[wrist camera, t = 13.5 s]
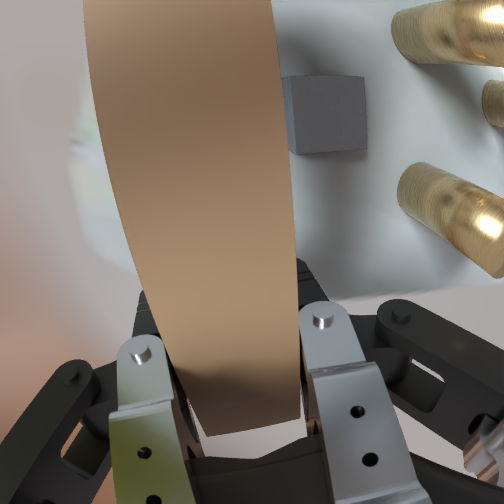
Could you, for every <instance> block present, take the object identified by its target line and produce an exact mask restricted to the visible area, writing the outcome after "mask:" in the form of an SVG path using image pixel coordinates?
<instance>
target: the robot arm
mask: <svg viewBox="0 0 504 504" xmlns="http://www.w3.org/2000/svg"><path fill="white" fill-rule="evenodd" d="M296 266H297V286H298V311H299V343H300V389H301V395H302V402H303V408H304V415H305V421H306V429H307V437H305V438H301V439H298V440H296V441H294V442H292V443H291V444H288V445H286V446H284V447H282V448H280V449H278V450H276V451H274V452H271V453H269V454H267V455H265V456H263V457H260V458H257V459H240V458H223V457H211V456H208V457H206V456H205V454H204V451H203V449H202V446H201V442H200V439H199V435H198V432H197V428H196V425H195V421H194V418H193V414H192V410H191V406H190V403H189V400H188V398H187V396H186V394H185V391H184V389H183V387H182V385H181V383H180V380H179V378H178V376H177V374H176V371H175V369H174V367H173V365H172V362H171V360H170V358H169V355H168V353H167V350H166V348H165V346H164V343H163V341H162V338H161V336H160V333H159V331H158V328H157V326H156V323H155V320H154V318H153V315H152V313H151V310H150V307H149V304H148V302H147V299H146V296H145V293H144V291H142V292H141V293H140V297H139V305H138V307H137V313H136V317H135V323H134V328H133V334H132V338H131V339H129V340H128V341H126V342H125V343H124V344H123V345H122V346H121V347H120V349H119V351H118V353H117V360H116V361H114V362H112V363H110V364H107V365H104V366H102V367H99V368H96V369H94V370H93V369H92V367H91V365H90V364H89V363H88V362H87V361H84V360H71V361H68V362H66V363H64V364H63V365H61V366H60V367H59V368H58V369H57V370H56V371H55V372H54V374H53V375H52V376H51V377H50V379H49V380H48V381H47V382H46V384H45V385H44V386H43V387H42V389H41V390H40V391H39V393H38V394H37V395H36V396H35V398H34V399H33V401H32V402H31V403H30V404H29V406H28V407H27V408H26V410H25V411H24V412H23V414H22V415H21V416H20V418H19V419H18V420H17V422H16V423H15V425H14V426H13V427H12V429H11V430H10V431H9V433H8V434H7V436H6V437H5V438H4V440H3V441H2V443H1V444H0V504H91V503H92V501H93V499H94V497H95V495H96V493H97V492H98V490H99V488H100V486H101V485H102V483H103V481H104V479H105V477H106V476H107V474H108V472H109V470H110V468H111V467H112V471H113V481H114V489H115V497H116V503H117V504H504V350H502V349H500V348H498V347H497V346H495V345H493V344H491V343H489V342H487V341H486V340H484V339H482V338H480V337H478V336H476V335H474V334H472V333H471V332H469V331H467V330H465V329H463V328H461V327H459V326H457V325H456V324H454V323H452V322H450V321H448V320H446V319H444V318H442V317H440V316H438V315H436V314H434V313H433V312H431V311H429V310H427V309H425V308H423V307H421V306H419V305H417V304H415V303H413V302H411V301H408V300H403V299H393V300H389V301H386V302H384V303H383V304H381V305H380V307H379V308H378V311H377V315H360V316H359V315H349V314H348V313H347V311H346V310H345V309H344V308H343V307H342V306H341V305H339V304H337V303H334V302H330V301H329V300H328V298H327V296H326V295H325V293H324V292H323V290H322V289H321V287H320V285H319V284H318V282H317V281H316V279H314V276H313V274H312V273H311V272H310V270H309V268H308V267H307V265H306V264H305V262H303V261H302V260H300V259H298V258H296ZM412 359H414V360H416V361H418V362H419V363H421V364H422V365H424V366H426V367H427V368H429V369H431V370H432V371H434V372H436V373H438V374H439V375H440V376H441V377H442V378H443V379H444V382H445V383H444V382H442V381H441V380H439V379H437V378H436V377H434V376H433V375H431V374H429V373H428V372H426V371H424V370H422V369H421V368H419V367H418V366H416V365H415V364H413V363H411V362H412ZM393 404H394V405H395V406H396V407H398V408H399V409H401V410H402V411H404V412H405V413H407V414H408V415H410V416H411V417H412V418H414V419H415V420H417V421H418V422H420V423H422V424H423V425H425V426H426V427H427V428H429V429H430V430H432V431H433V432H435V433H436V434H438V435H439V436H441V437H442V438H444V439H445V440H447V441H448V442H450V443H451V444H453V445H455V446H456V447H458V448H459V449H461V450H462V451H463V458H464V468H465V469H466V470H467V471H468V472H474V473H475V475H476V476H477V478H478V479H476V478H473V477H471V476H468V475H465V474H463V473H460V472H457V471H455V470H452V469H450V468H447V467H445V466H442V465H440V464H437V463H435V462H432V461H430V460H428V459H425V458H423V457H421V456H418V455H416V454H414V453H412V452H409V450H408V448H407V445H406V441H405V438H404V435H403V432H402V429H401V427H400V424H399V421H398V418H397V415H396V412H395V410H394V407H393ZM78 422H80V423H81V424H82V425H83V427H82V428H81V430H80V431H79V433H78V434H77V436H76V438H75V439H74V441H73V442H72V444H71V445H70V447H69V449H68V450H67V451H66V453H65V455H64V456H63V457H62V458H61V456H60V455H61V449H62V447H63V445H64V444H65V442H66V441H67V439H68V438H69V436H70V435H71V433H72V432H73V430H74V428H75V427H76V425H77V424H78Z"/></svg>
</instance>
